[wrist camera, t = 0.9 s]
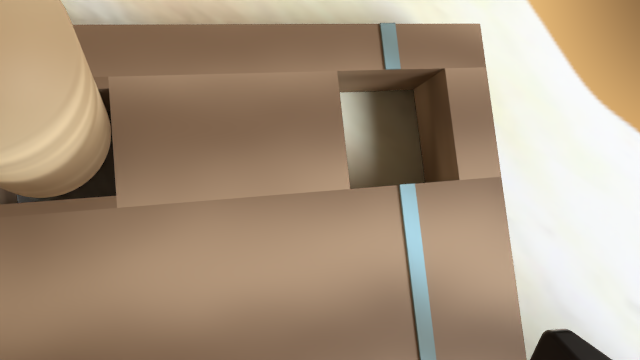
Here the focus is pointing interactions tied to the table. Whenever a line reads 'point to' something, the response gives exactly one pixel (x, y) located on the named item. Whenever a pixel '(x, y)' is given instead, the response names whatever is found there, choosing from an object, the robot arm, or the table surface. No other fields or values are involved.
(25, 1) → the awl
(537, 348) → the robot arm
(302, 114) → the subfloor panel
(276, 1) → the table surface
